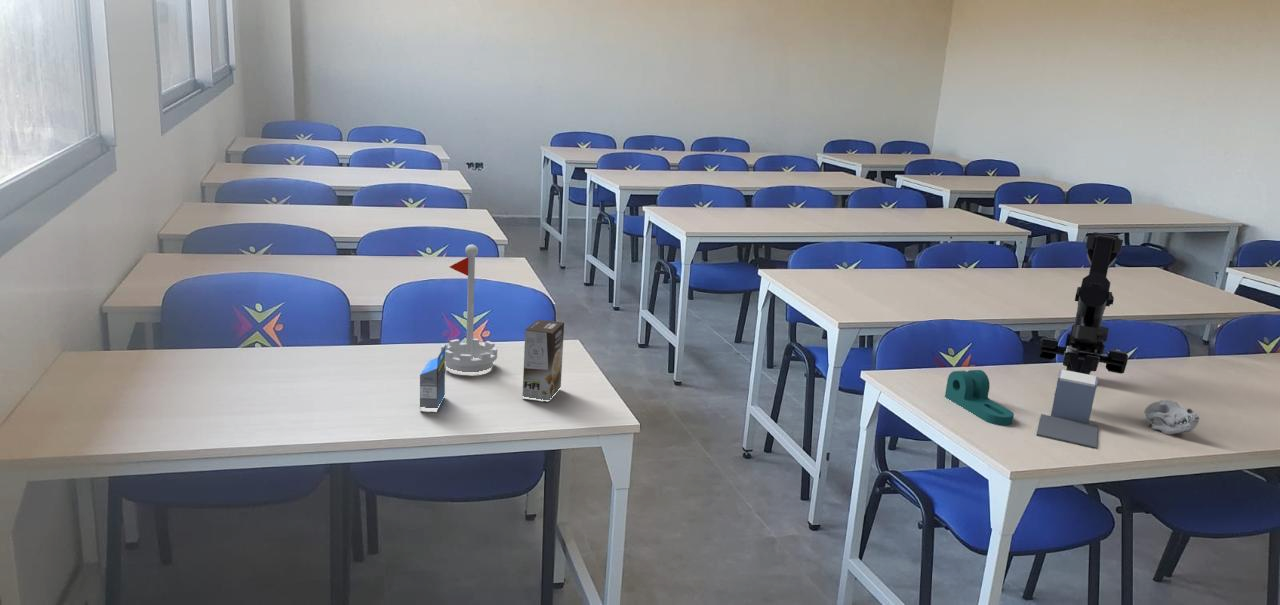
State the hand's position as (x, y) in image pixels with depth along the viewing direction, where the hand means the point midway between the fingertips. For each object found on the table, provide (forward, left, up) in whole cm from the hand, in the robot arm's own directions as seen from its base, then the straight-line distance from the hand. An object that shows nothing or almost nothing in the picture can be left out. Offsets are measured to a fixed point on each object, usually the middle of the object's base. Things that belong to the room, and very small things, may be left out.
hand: (1076, 386), depth 214 cm
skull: (-12, +17, -8) cm, 22 cm away
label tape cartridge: (+116, -87, -8) cm, 145 cm away
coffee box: (+93, -79, -8) cm, 122 cm away
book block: (0, 0, -7) cm, 7 cm away
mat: (+9, +3, -8) cm, 12 cm away
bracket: (+14, -15, -8) cm, 22 cm away
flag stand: (+97, -102, -8) cm, 141 cm away
